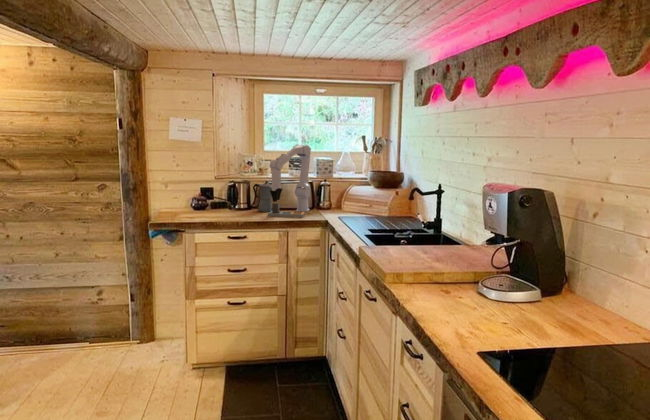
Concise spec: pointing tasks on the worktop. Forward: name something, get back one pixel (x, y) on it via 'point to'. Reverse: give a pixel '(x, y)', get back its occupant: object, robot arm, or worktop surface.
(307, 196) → the robot arm
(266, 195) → the moka pot
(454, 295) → the worktop surface
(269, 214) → the grey rectangular frame
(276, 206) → the block
